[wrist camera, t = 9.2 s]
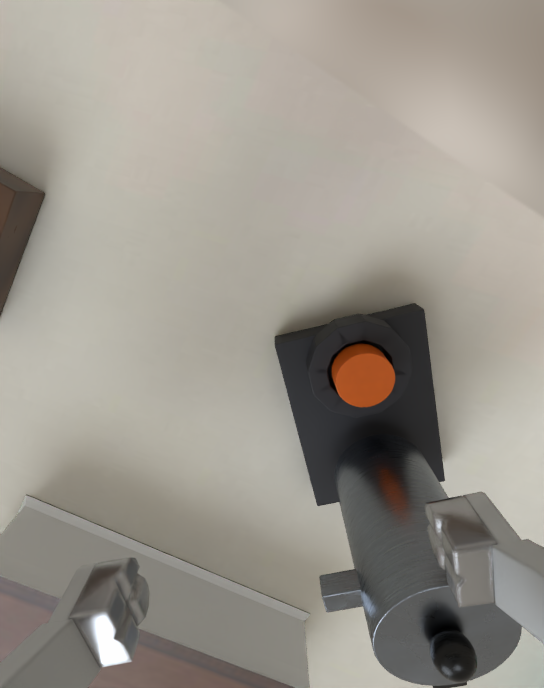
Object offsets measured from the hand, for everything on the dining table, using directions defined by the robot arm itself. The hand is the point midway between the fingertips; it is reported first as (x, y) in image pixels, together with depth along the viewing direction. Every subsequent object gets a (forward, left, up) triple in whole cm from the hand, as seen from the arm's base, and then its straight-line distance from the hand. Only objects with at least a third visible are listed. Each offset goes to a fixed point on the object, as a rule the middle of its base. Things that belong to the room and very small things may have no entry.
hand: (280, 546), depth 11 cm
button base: (+7, +5, -18) cm, 20 cm away
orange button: (+2, +5, -15) cm, 16 cm away
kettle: (+11, +4, -14) cm, 18 cm away
